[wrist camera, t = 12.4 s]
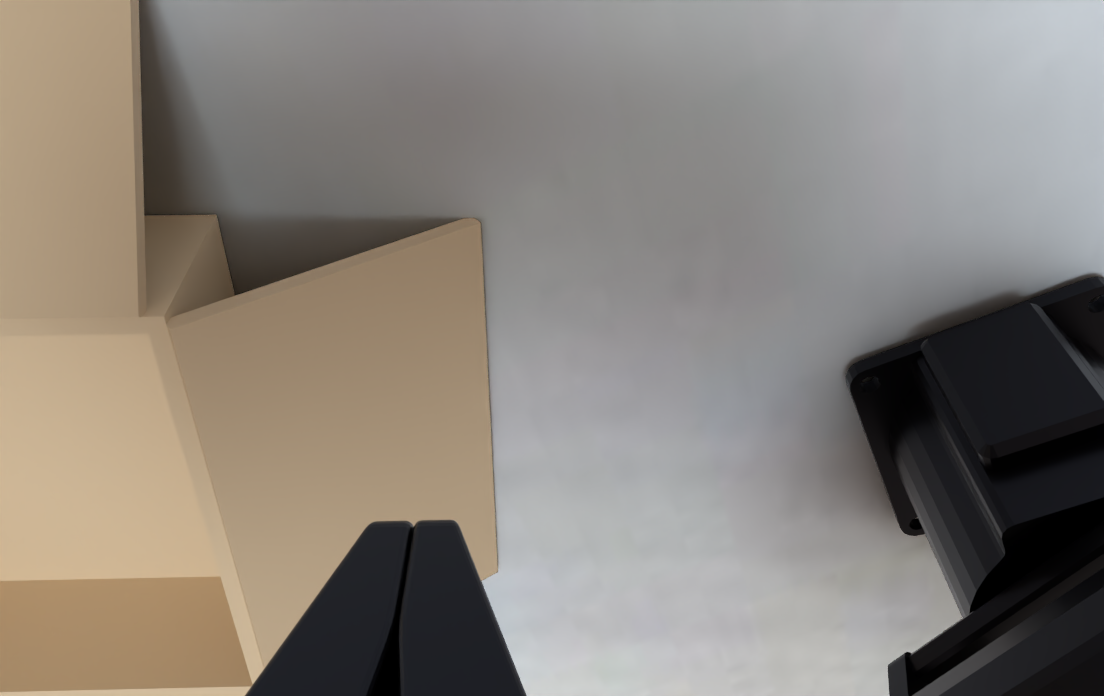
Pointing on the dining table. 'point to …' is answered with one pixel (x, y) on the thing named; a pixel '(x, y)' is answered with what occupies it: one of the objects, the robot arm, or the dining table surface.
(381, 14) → the dining table surface
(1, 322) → the carton
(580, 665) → the dining table surface
